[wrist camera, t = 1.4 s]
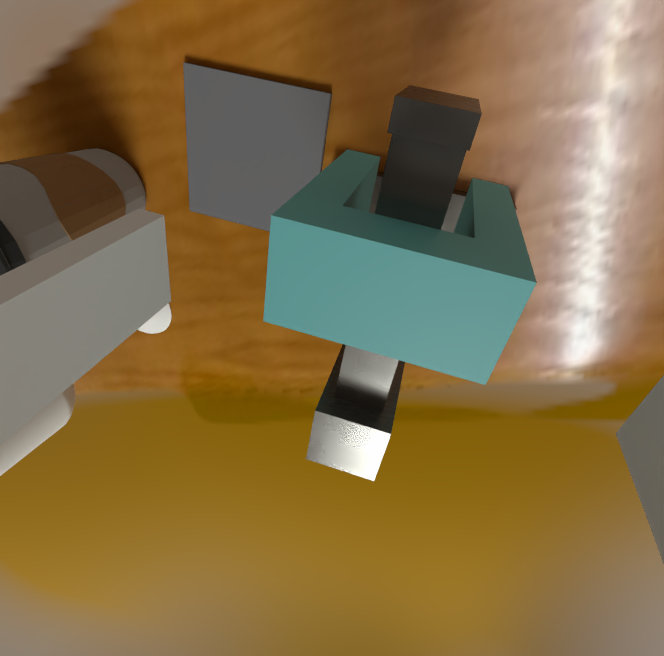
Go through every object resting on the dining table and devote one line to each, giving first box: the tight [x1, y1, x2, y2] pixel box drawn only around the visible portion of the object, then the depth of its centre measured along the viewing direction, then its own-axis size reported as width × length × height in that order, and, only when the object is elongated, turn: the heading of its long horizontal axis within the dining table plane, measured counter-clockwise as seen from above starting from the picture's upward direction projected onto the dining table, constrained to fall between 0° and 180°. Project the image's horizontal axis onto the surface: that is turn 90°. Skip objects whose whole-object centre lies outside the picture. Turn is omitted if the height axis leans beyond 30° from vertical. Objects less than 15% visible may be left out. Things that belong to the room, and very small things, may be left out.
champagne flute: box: [0, 303, 171, 476], centre depth 31 cm, size 7×7×24 cm
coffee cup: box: [0, 148, 146, 276], centre depth 29 cm, size 8×8×15 cm
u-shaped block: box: [264, 149, 537, 385], centre depth 16 cm, size 7×4×9 cm, turn 81°
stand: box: [306, 85, 517, 481], centre depth 22 cm, size 12×16×18 cm
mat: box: [183, 62, 332, 231], centre depth 30 cm, size 10×10×1 cm
